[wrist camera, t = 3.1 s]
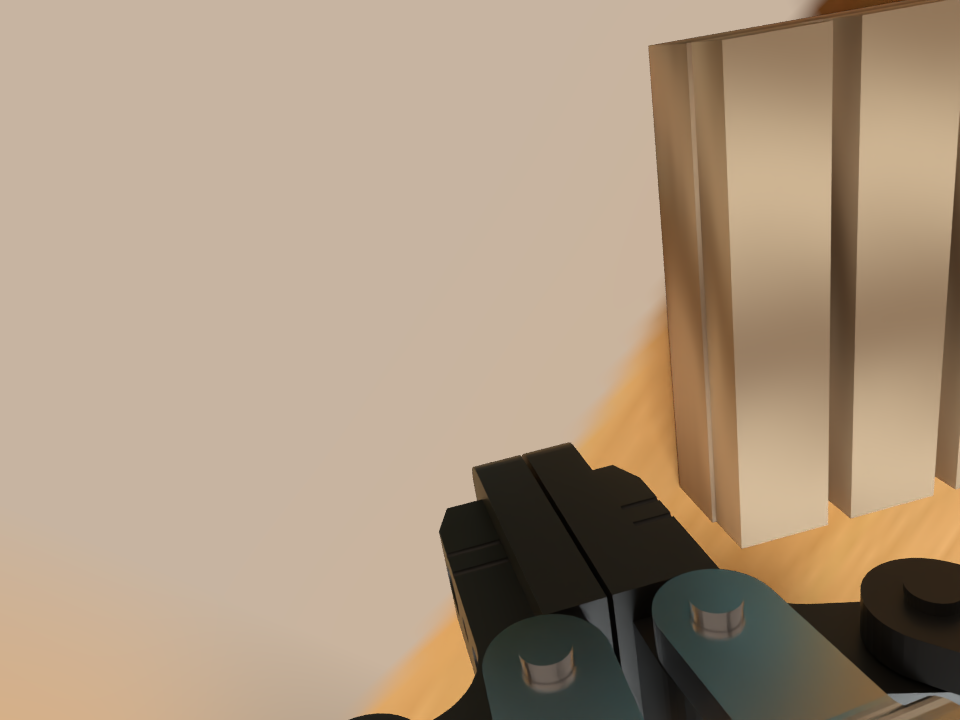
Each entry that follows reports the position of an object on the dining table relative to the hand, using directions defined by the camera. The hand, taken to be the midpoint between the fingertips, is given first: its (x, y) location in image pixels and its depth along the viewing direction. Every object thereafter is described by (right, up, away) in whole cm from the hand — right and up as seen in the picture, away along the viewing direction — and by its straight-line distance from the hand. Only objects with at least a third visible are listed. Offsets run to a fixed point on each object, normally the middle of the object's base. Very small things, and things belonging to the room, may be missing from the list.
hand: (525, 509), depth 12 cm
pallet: (+12, +6, +8) cm, 16 cm away
